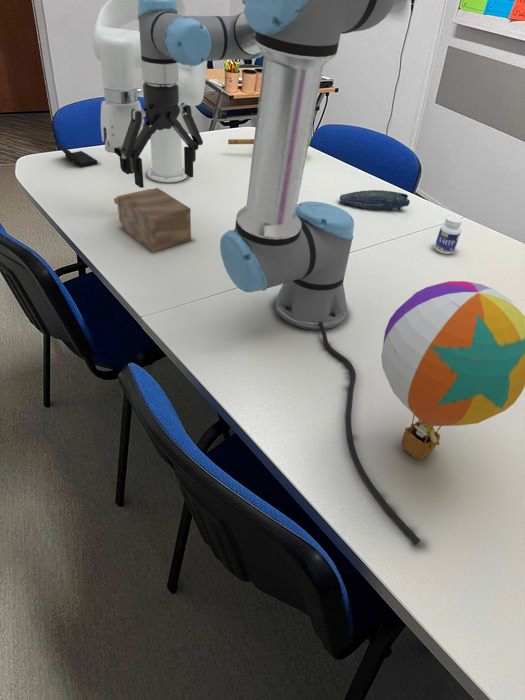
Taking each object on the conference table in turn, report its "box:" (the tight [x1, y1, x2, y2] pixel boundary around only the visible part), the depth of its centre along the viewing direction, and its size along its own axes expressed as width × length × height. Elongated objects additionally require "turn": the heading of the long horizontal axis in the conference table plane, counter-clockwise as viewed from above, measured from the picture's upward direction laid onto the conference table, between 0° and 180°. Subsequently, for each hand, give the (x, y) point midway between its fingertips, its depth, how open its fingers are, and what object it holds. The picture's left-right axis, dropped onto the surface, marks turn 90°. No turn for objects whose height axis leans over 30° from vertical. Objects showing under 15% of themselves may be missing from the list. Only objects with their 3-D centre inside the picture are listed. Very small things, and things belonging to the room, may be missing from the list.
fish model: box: [339, 189, 411, 211], centre depth 158 cm, size 7×21×5 cm, turn 84°
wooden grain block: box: [118, 187, 192, 253], centre depth 132 cm, size 15×11×9 cm
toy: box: [380, 280, 525, 461], centre depth 74 cm, size 20×20×30 cm
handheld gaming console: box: [53, 140, 98, 167], centre depth 169 cm, size 12×7×10 cm
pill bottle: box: [434, 215, 463, 255], centre depth 137 cm, size 5×5×9 cm
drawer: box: [113, 188, 152, 223], centre depth 136 cm, size 19×10×7 cm, turn 41°
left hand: (127, 172), depth 134 cm, fingers closed
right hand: (164, 180), depth 124 cm, fingers open, 13 cm apart
